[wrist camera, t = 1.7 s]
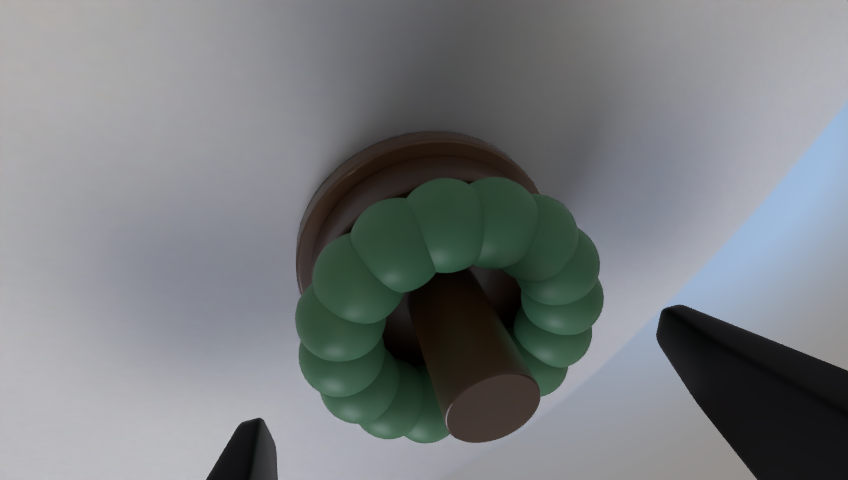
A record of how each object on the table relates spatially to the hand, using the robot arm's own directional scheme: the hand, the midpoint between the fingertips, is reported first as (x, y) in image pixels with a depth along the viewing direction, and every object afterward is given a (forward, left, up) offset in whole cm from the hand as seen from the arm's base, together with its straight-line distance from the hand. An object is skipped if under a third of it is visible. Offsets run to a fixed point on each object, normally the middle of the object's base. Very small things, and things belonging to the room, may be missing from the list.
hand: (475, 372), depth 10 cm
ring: (0, 0, -3) cm, 3 cm away
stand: (0, 0, -5) cm, 5 cm away
